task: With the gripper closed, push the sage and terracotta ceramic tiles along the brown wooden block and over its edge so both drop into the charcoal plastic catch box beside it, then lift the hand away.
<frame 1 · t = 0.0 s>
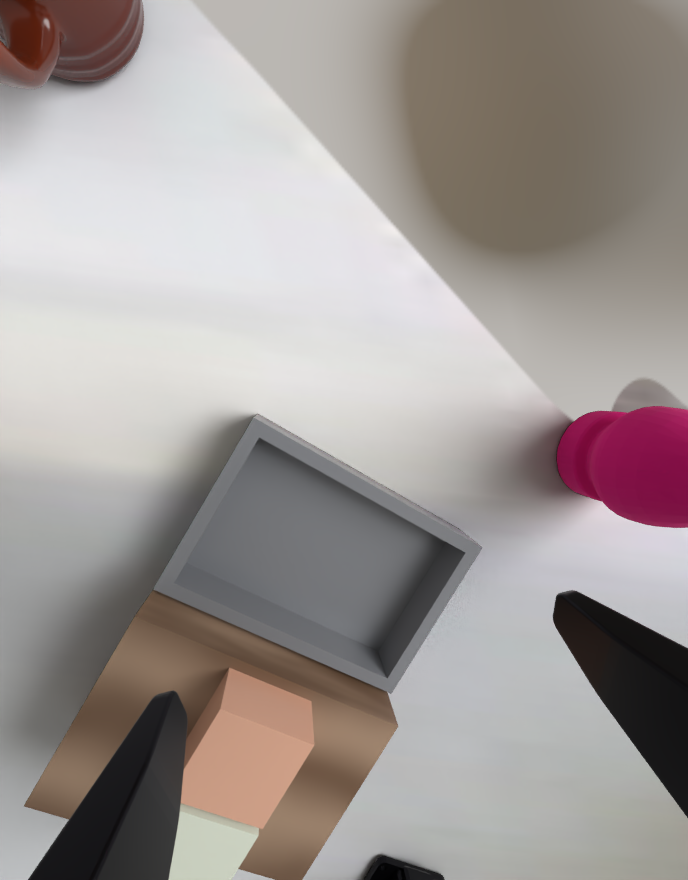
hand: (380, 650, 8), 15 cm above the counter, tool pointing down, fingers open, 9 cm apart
tile terracotta: (248, 723, 19), point 5 cm above the counter, touching brown wooden block
catch box: (323, 545, 24), on the counter
brown wooden block: (237, 688, 24), on the counter
mug: (81, 54, 19), on the counter
tile sage: (198, 804, 20), point 5 cm above the counter, touching brown wooden block
pepper mill: (591, 453, 26), on the counter
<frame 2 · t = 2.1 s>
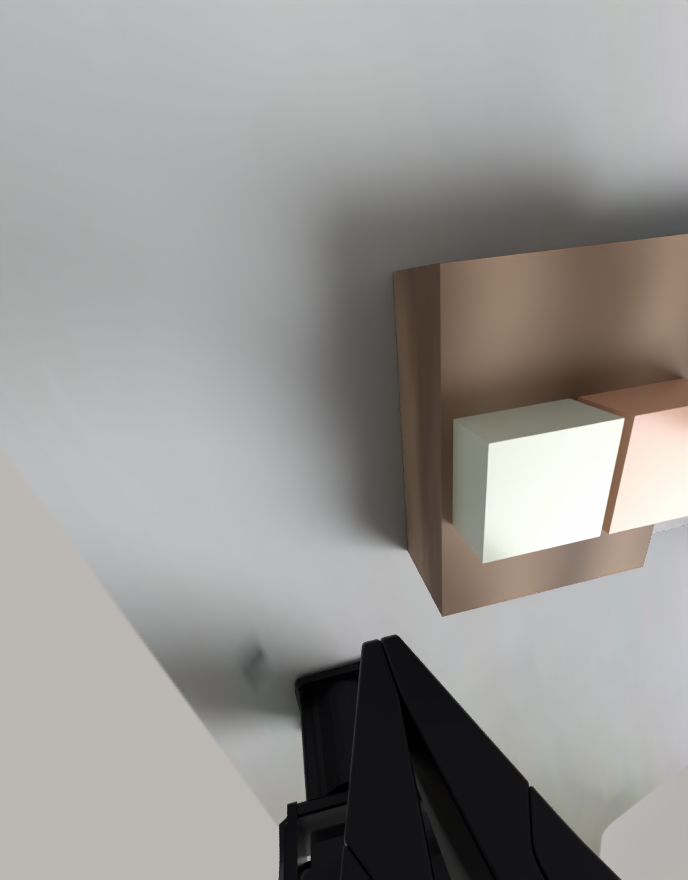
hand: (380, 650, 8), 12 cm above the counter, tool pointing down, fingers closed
tile terracotta: (620, 442, 16), point 5 cm above the counter, touching brown wooden block
catch box: (677, 384, 21), on the counter
brown wooden block: (499, 416, 20), on the counter
tile sage: (508, 464, 15), point 5 cm above the counter, touching brown wooden block
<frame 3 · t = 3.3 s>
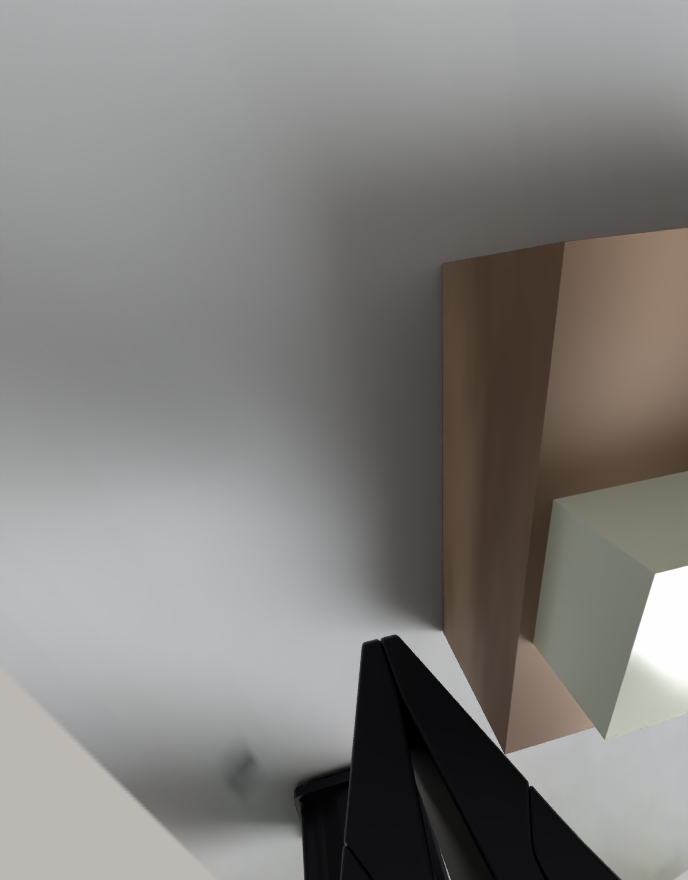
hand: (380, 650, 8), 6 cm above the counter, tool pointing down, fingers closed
brown wooden block: (574, 463, 15), on the counter
tile sage: (624, 559, 10), point 5 cm above the counter, touching brown wooden block
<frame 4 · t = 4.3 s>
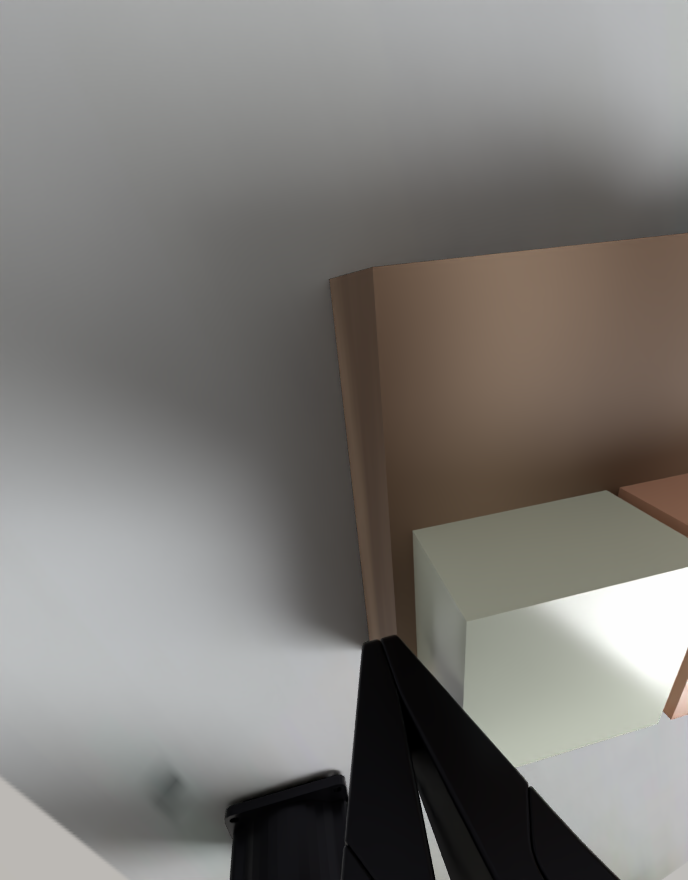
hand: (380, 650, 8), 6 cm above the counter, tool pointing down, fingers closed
tile terracotta: (679, 547, 10), point 5 cm above the counter, touching brown wooden block
brown wooden block: (494, 480, 14), on the counter
tile sage: (505, 588, 9), point 5 cm above the counter, touching gripper
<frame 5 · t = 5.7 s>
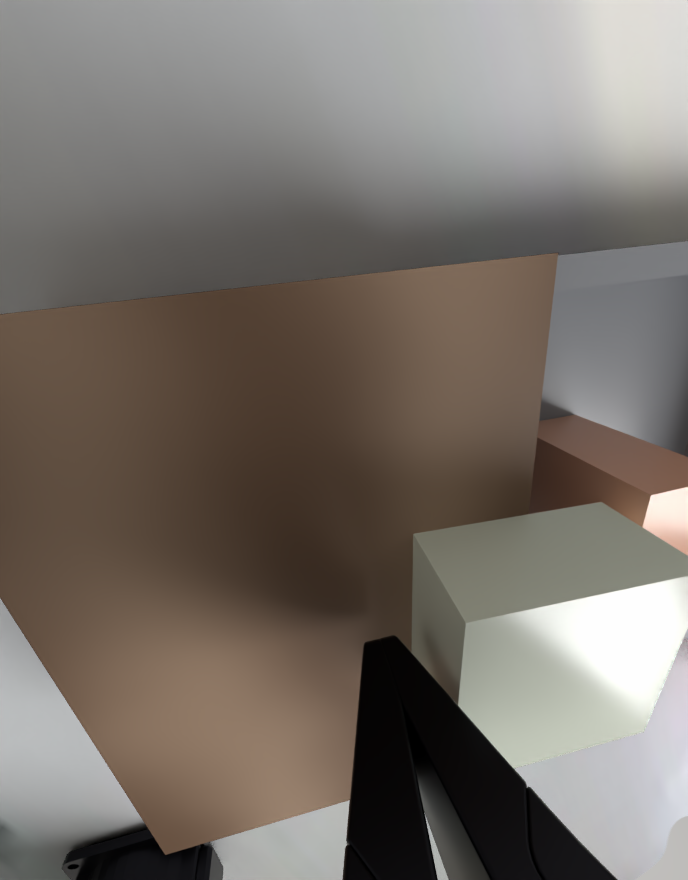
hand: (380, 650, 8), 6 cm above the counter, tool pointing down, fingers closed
tile terracotta: (556, 522, 12), point 3 cm above the counter, tilted 92°, touching catch box
catch box: (572, 466, 15), on the counter
brown wooden block: (297, 519, 13), on the counter
tile sage: (500, 594, 10), point 5 cm above the counter, touching brown wooden block, gripper
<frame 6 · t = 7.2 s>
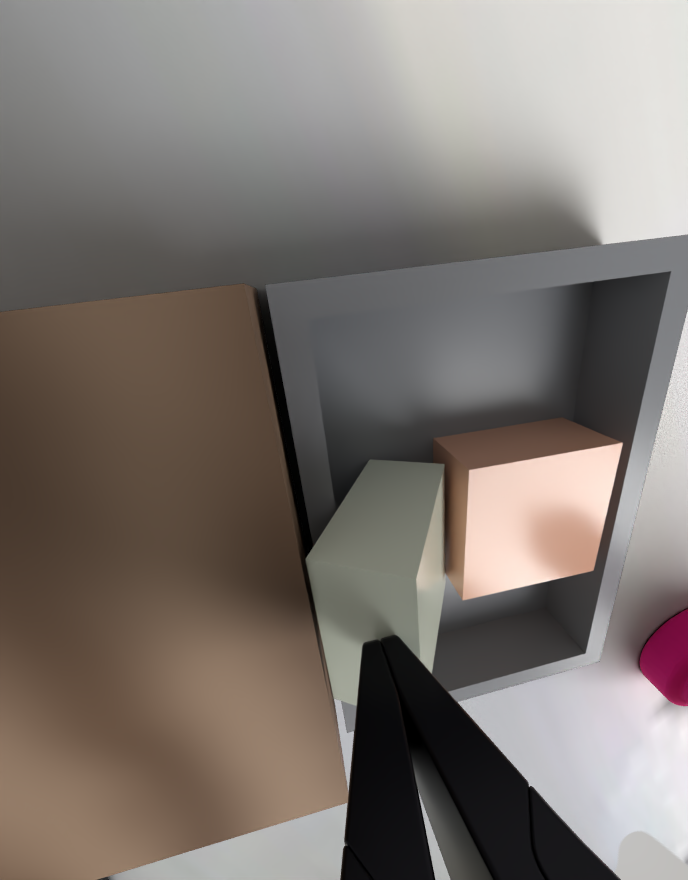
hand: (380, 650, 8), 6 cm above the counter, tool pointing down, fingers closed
tile terracotta: (538, 526, 11), point 3 cm above the counter, tilted 180°, touching catch box
catch box: (446, 489, 14), on the counter
brown wooden block: (140, 551, 13), on the counter
tile sage: (353, 566, 11), point 3 cm above the counter, tilted 59°, touching catch box, gripper
pepper mill: (680, 638, 22), on the counter
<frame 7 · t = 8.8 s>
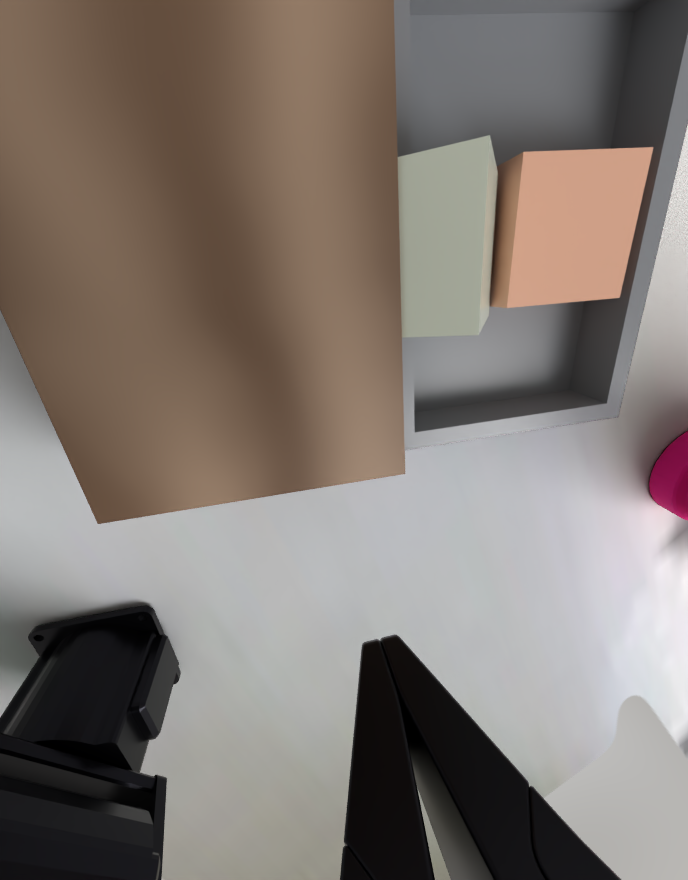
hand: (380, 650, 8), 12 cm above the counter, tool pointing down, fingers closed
tile terracotta: (576, 231, 13), point 3 cm above the counter, tilted 180°, touching catch box
catch box: (490, 245, 16), on the counter
brown wooden block: (229, 270, 15), on the counter
tile sage: (416, 256, 13), point 3 cm above the counter, tilted 57°, touching brown wooden block, catch box
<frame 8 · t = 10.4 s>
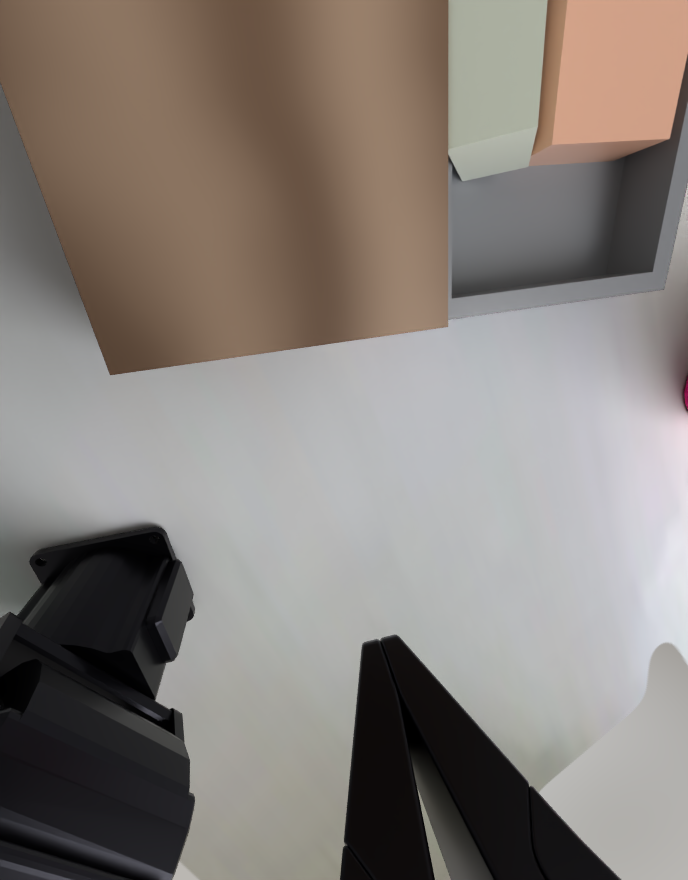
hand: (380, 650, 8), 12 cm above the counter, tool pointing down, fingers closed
tile terracotta: (626, 52, 12), point 3 cm above the counter, tilted 180°, touching catch box
catch box: (524, 101, 15), on the counter
brown wooden block: (247, 118, 14), on the counter
tile sage: (455, 78, 12), point 3 cm above the counter, tilted 57°, touching brown wooden block, catch box
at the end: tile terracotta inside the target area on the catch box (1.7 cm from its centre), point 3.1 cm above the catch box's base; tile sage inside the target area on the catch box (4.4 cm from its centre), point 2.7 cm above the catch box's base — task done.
